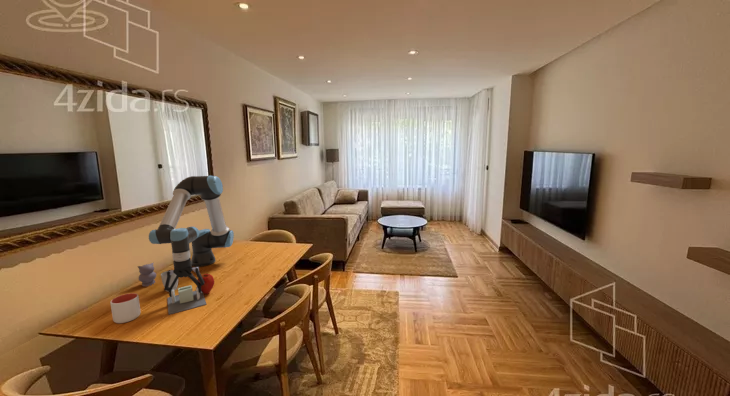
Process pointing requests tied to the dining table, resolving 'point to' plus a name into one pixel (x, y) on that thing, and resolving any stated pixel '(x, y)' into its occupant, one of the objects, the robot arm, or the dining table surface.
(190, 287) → the pale green block
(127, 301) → the cup
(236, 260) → the dining table surface
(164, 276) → the cup
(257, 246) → the dining table surface
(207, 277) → the apple
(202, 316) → the dining table surface
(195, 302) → the grey piece
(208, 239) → the robot arm
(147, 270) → the cat figurine
